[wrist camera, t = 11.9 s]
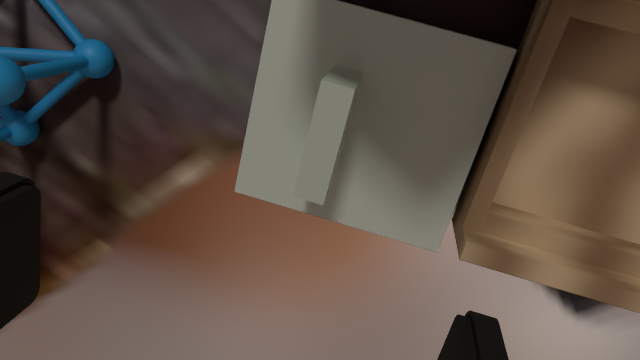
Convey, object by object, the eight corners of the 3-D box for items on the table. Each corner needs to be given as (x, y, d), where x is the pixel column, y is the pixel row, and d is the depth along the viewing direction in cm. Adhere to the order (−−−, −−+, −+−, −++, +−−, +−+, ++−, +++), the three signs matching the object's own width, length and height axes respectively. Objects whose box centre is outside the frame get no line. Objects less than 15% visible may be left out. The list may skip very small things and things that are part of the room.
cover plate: (513, 47, 26) (540, 62, 21) (436, 244, 31) (442, 300, 26) (279, -16, 27) (246, -18, 22) (239, 185, 32) (203, 226, 26)
